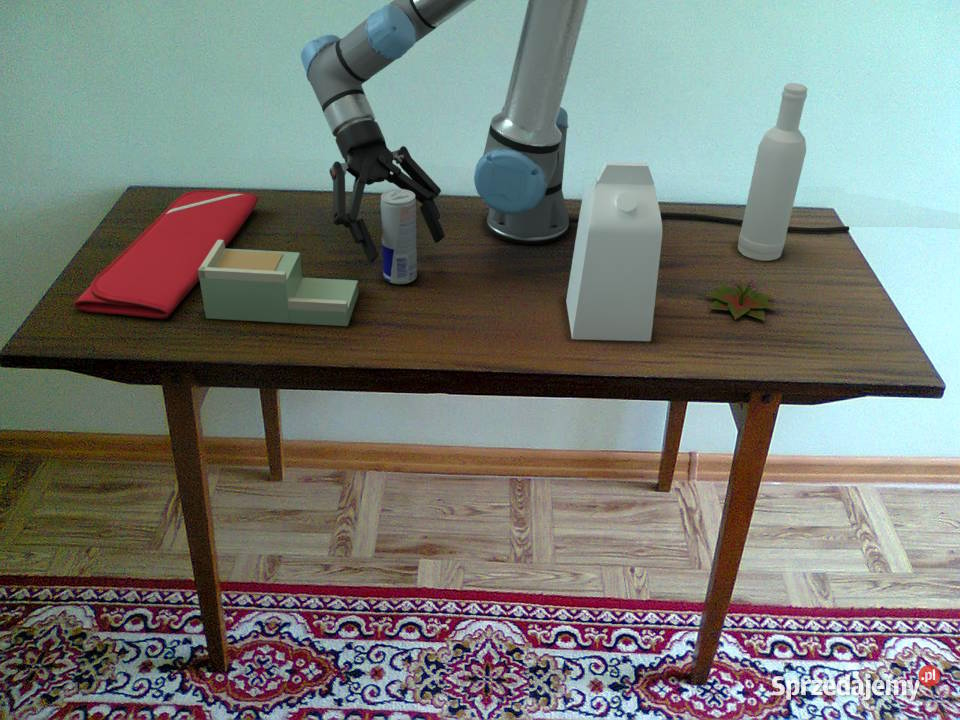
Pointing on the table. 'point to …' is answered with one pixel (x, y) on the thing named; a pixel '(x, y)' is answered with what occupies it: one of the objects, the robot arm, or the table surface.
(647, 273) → the milk
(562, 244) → the table surface
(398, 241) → the beverage can
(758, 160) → the bottle
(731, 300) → the lily flower
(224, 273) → the green stepped stand
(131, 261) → the dish drying mat
